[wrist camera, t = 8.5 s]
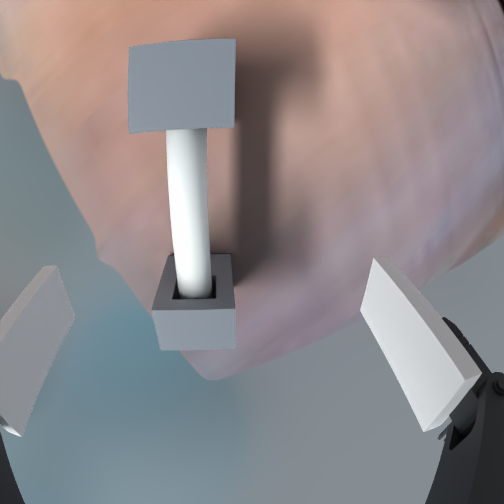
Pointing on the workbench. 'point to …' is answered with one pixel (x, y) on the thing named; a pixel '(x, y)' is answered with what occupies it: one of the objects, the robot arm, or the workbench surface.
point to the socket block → (196, 311)
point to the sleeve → (181, 85)
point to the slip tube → (189, 211)
